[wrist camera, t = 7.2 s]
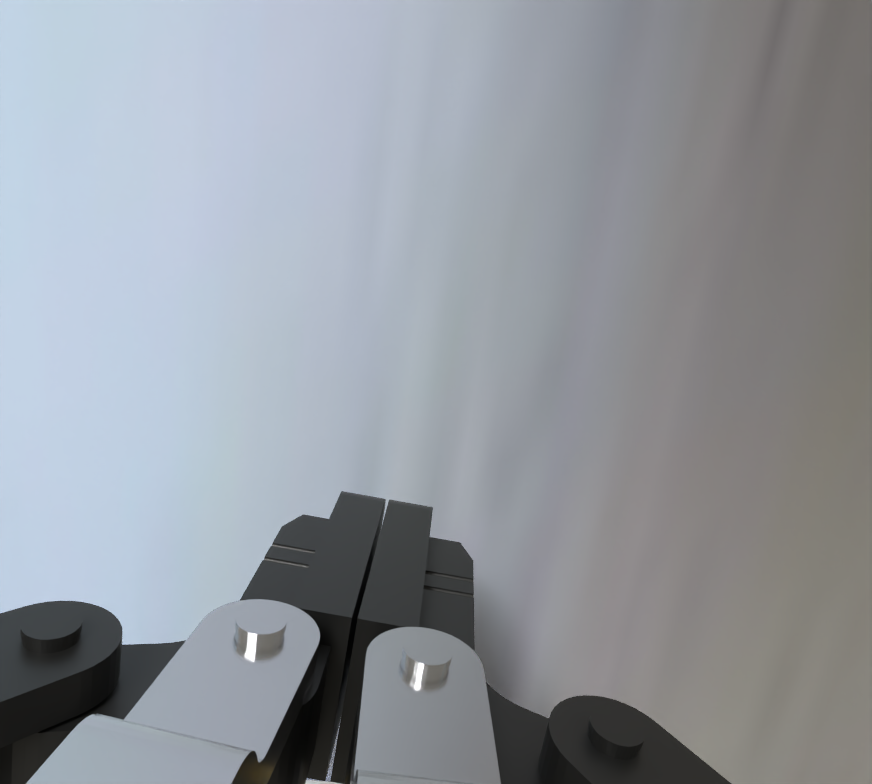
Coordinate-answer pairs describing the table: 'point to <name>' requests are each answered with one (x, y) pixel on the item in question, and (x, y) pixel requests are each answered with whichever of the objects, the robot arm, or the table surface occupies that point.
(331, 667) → the robot arm
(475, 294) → the table surface
